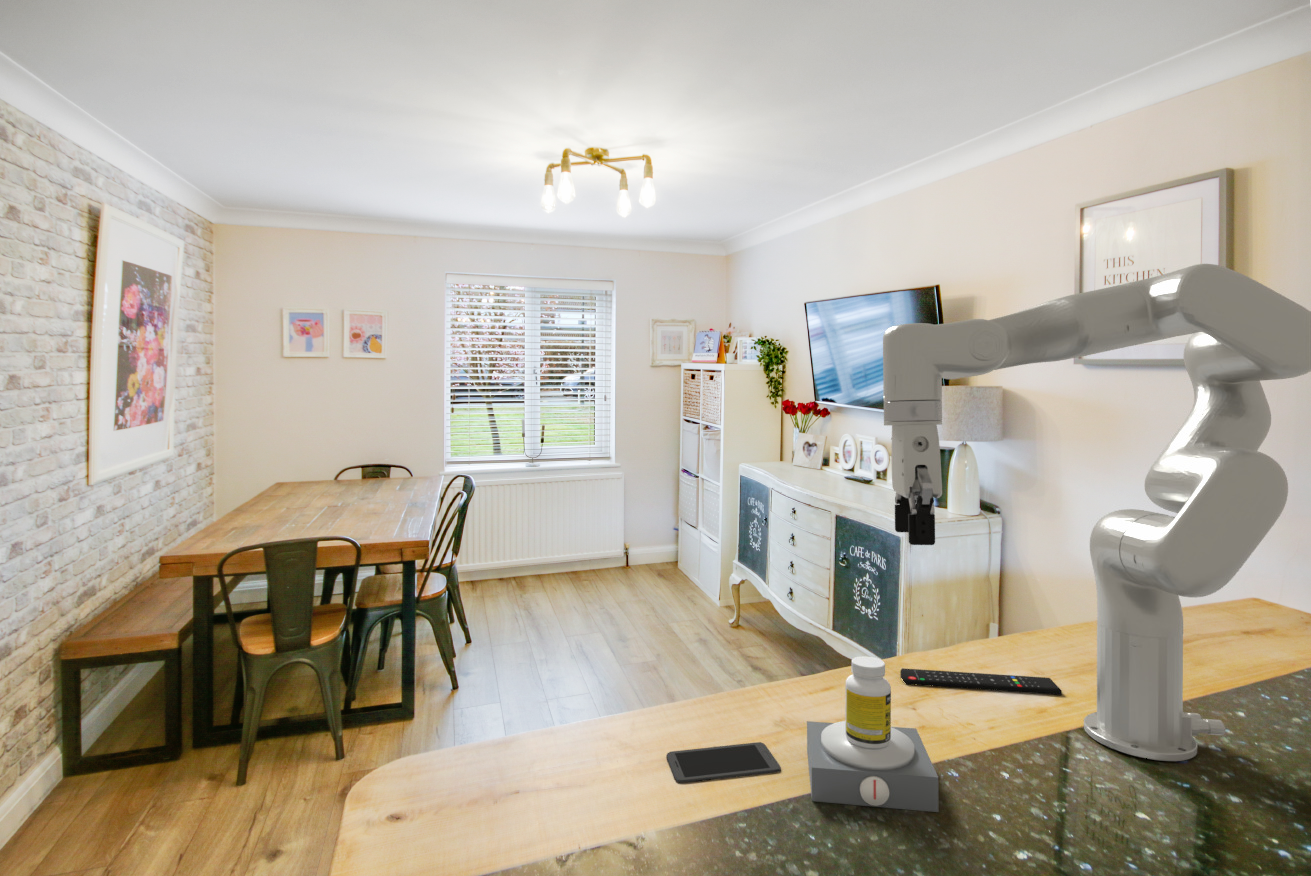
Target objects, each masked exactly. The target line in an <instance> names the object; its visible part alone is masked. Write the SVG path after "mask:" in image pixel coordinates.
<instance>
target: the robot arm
mask: <svg viewBox="0 0 1311 876" xmlns="http://www.w3.org/2000/svg"><path fill="white" fill-rule="evenodd" d="M1185 335H1186V336H1187V335H1191V336H1190V337H1188V340H1187V342H1186V343H1185V345H1184V348H1183V363H1184V367H1185V369H1186V370H1185V371H1186V372H1187V374H1188V377H1189V379H1190V381H1191V385H1192V389H1193V395H1194V396H1193V397H1194V399H1193V405H1192V408H1191V410H1190V413H1188V415H1187V417H1186V419H1185V420H1184V422H1183V423H1182V425H1181V426H1180V428H1178V431H1176V433H1175V434H1174V435H1173V436H1172V438H1171V439H1170V441H1169V442H1168V444H1167V445H1166V446H1165V448H1164V449H1163V450H1162V452H1161V453H1160V454H1159V456H1158V457H1157V458H1156V460H1155V461H1154V462H1153V464H1152V465H1151V467H1150V468H1149V469H1148V472H1147V474H1146V476H1145V479H1144V491H1145V494H1146V496H1147V497H1148V499H1149V500H1150V501H1151V502H1152V503H1153V504H1155V505H1156V506H1157V507H1159V508H1160V509H1164V510H1165V511H1168V512H1172V513H1175V514H1176V515H1175V516H1172V515H1168V514H1164V513H1159V512H1154V511H1149V510H1144V509H1134V508H1126V509H1119V510H1114V511H1112V512H1109V513H1107V514H1106V515H1103V517H1101V518H1100V519H1099V520H1098V521H1097V522H1096V523H1095V525H1094V527H1092V530H1091V533H1090V537H1089V553H1090V558H1091V559H1090V560H1091V563H1092V564H1091V565H1092V569H1093V573H1094V580H1095V587H1096V605H1097V606H1096V609H1097V610H1096V611H1097V617H1096V712H1092V713H1089V714H1087V715H1086V716H1085V717H1084V718H1083V729H1084V731H1085V732H1086V734H1087V735H1088V736H1089V737H1091V738H1092V739H1093V740H1095V741H1096V742H1098V743H1100V744H1101V745H1103V746H1106V747H1107V748H1110V749H1112V750H1115V751H1117V752H1120V753H1122V754H1127V755H1130V756H1133V757H1138V758H1141V759H1142V758H1143V759H1146V758H1147V759H1148V760H1154V761H1160V762H1161V761H1162V762H1182V761H1186V760H1191V759H1193V758H1194V757H1196V756H1197V754H1198V741H1196V739H1195V738H1194V737H1197V736H1198V735H1199V734H1206V735H1212V736H1224V735H1225V734H1226V727H1225V723H1224V722H1223V721H1222V720H1221V719H1213V718H1212V719H1210V718H1203V719H1202V716H1201V714H1200V713H1198V712H1196V713H1195V712H1185V711H1184V710H1183V709H1184V708H1183V707H1184V706H1183V705H1184V704H1183V701H1184V698H1183V697H1184V695H1183V693H1184V691H1183V689H1184V686H1183V683H1184V680H1183V679H1184V677H1183V676H1184V616H1183V615H1184V614H1183V613H1184V612H1183V607H1182V604H1181V599H1180V597H1182V598H1183V597H1184V598H1204V597H1206V596H1209V595H1212V594H1215V593H1216V592H1218V591H1220V590H1221V589H1223V588H1224V587H1225V586H1226V585H1227V584H1229V582H1230V581H1231V580H1232V579H1233V578H1234V577H1235V576H1236V574H1237V573H1238V572H1239V571H1240V569H1241V568H1242V567H1243V566H1244V564H1245V563H1246V562H1247V560H1248V559H1249V558H1250V557H1251V556H1252V554H1253V552H1254V551H1255V550H1256V549H1257V547H1259V545H1260V544H1261V542H1262V540H1264V538H1265V537H1266V535H1268V533H1269V532H1270V531H1271V529H1272V527H1273V526H1274V525H1275V523H1276V522H1277V521H1278V519H1279V517H1281V514H1283V511H1284V509H1285V506H1286V504H1287V500H1288V495H1289V494H1288V493H1289V482H1288V481H1289V480H1288V478H1287V475H1286V473H1285V471H1284V469H1283V468H1282V466H1281V465H1280V463H1279V462H1277V461H1276V460H1275V459H1274V458H1273V457H1271V456H1269V455H1268V454H1266V453H1263V452H1261V451H1258V450H1259V449H1260V447H1261V446H1262V444H1263V442H1264V441H1265V439H1266V438H1267V436H1268V434H1269V431H1270V430H1271V425H1272V413H1271V408H1270V406H1269V403H1268V400H1267V397H1266V394H1265V393H1266V392H1265V391H1264V388H1263V386H1262V383H1261V381H1274V380H1285V379H1291V378H1292V379H1294V378H1297V377H1298V378H1299V376H1304V375H1306V374H1309V373H1310V372H1311V311H1310V310H1309V309H1307V308H1306V307H1305V306H1302V305H1301V304H1299V303H1297V302H1295V301H1294V300H1292V299H1290V298H1289V297H1286V296H1285V295H1282V294H1280V293H1279V292H1277V291H1275V290H1273V289H1272V288H1270V287H1268V286H1266V285H1264V284H1262V283H1260V282H1259V281H1257V280H1255V279H1253V278H1251V277H1250V276H1247V275H1245V274H1243V273H1241V272H1238V271H1236V270H1233V269H1231V268H1228V267H1226V266H1222V265H1219V264H1213V263H1198V264H1194V265H1191V266H1188V267H1184V268H1181V269H1177V270H1175V271H1171V272H1168V273H1165V274H1160V275H1156V276H1152V277H1148V278H1143V279H1140V280H1135V281H1132V282H1127V283H1122V284H1121V283H1120V284H1118V285H1112V286H1109V287H1103V288H1099V289H1094V290H1089V291H1085V292H1081V293H1074V294H1070V295H1066V296H1062V297H1059V298H1055V299H1052V300H1049V301H1046V302H1043V303H1040V304H1037V305H1034V306H1032V307H1030V308H1025V309H1023V310H1021V311H1018V312H1015V313H1010V314H1007V315H1004V316H1003V315H1002V316H1000V317H995V318H991V319H983V318H974V319H966V320H960V321H954V322H948V323H939V324H933V323H926V322H925V323H924V322H923V323H922V322H920V323H919V322H915V323H914V322H913V323H903V324H897V325H892V326H891V327H888V329H886V330H885V331H884V334H883V337H882V363H883V364H882V366H883V367H882V370H883V371H882V375H883V377H882V379H883V380H882V381H883V384H882V385H883V426H891V439H890V440H891V453H890V454H891V485H892V488H893V489H892V490H893V491H894V492H895V497H894V501H895V504H894V530H895V532H897V533H908V543H909V544H910V545H912V546H934V545H935V544H936V515H935V511H936V510H935V506H934V502H935V499H939V498H941V497H942V495H943V481H942V478H943V477H942V465H941V446H940V439H939V432H938V431H939V430H938V426H939V425H943V388H942V387H943V385H942V384H943V380H942V379H945V380H958V379H962V378H963V379H964V378H971V377H977V376H983V375H985V374H989V373H991V372H993V371H997V370H1002V369H1006V368H1012V367H1018V366H1023V365H1028V364H1029V365H1031V364H1038V363H1039V364H1040V363H1050V362H1051V363H1052V362H1060V361H1066V360H1070V359H1076V358H1081V357H1087V356H1091V355H1094V354H1095V355H1096V354H1099V353H1104V352H1109V351H1114V350H1118V349H1125V348H1129V347H1133V346H1138V345H1142V344H1147V343H1152V342H1156V341H1161V340H1165V339H1172V338H1175V337H1181V336H1185ZM1179 596H1180V597H1179Z"/></svg>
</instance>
